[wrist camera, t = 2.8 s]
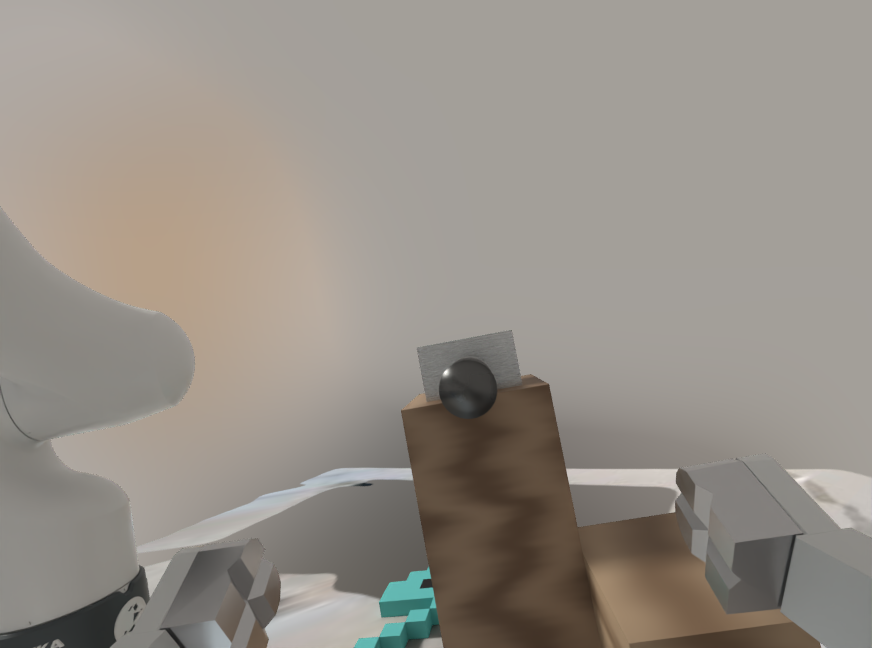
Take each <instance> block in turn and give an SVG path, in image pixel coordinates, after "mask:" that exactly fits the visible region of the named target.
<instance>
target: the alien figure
mask: <svg viewBox="0 0 872 648" xmlns="http://www.w3.org/2000/svg"><path fill="white" fill-rule="evenodd" d="M379 605H380V611H381V617H394V616H407V615H408V617H407V619H406V622H403V623H390V624H385V626H384V628H383V630H382V632H381V634H380V636H379V637H373V638H359V639H358V641H357V643H356V645H355V647H354V648H405V647H406V644H407V642H408V639H423V638H429V635H430V631H431V628H432V625H439V619H438V614H437V608H436V603H435V597H434V592H433V586H432V580H431V575H430V569H429V567H428V569H427V570H426V571H416V572H411V573H410V575H409V577H408V579H407V581H400V582H390V583H389V585H388V587H387V589H386V590H385V592H384V594H383V596H382V598H381V599H380V601H379Z"/></svg>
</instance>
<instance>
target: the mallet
mask: <svg viewBox="0 0 872 648" xmlns="http://www.w3.org/2000/svg"><path fill="white" fill-rule="evenodd" d="M417 352H418V357H419V363H420V368H421V374H422V379H423V385H424V390H425V396H426V401H427V402H429V401H435V400H441V402H442V404H443V405H444V407H445V408H446V409H447V410H448V411H449V412H450V413H451V414H453V415H455V416H457V417H459V418H463V419H474V418H478V417H480V416H482V415H484V414H485V413H487V412H488V411H489V410H490V409H491V407H492V406H493V404H494V403H495V400H496V397H497V389H502V388H508V387H514V386H519V385H522V380H521V375H520V370H519V365H518V359H517V355H516V349H515V344H514V339H513V334H512V330H509V331H504V332H498V333H493V334H487V335H482V336H477V337H471V338H466V339H461V340H455V341H450V342H445V343H440V344H434V345H429V346H423V347H418V348H417Z"/></svg>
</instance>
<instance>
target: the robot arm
mask: <svg viewBox="0 0 872 648" xmlns="http://www.w3.org/2000/svg"><path fill="white" fill-rule="evenodd" d="M194 370H195V357H194V352H193V348H192V345H191V343H190V340H189V338H188V337H187V336H186V334H185V332H184V331H183V330H182V328H181V327H180V326H179V325H178V324H177V323H176V322H175V321H174V320H172V319H171V318H169V317H168V316H167V315H165V314H163V313H161V312H157V311H152V310H147V309H142V308H138V307H135V306H131V305H128V304H124V303H122V302H119V301H116V300H114V299H111V298H109V297H107V296H105V295H102V294H100V293H98V292H96V291H94V290H92V289H90V288H88V287H86V286H85V285H83V284H81V283H79V282H77V281H75V280H74V279H72V278H71V277H69V276H67V275H66V274H64V273H63V272H61V271H60V270H58V269H57V268H55V267H54V266H53V265H52V264H51V263H49V262H48V261H47V260H46V259H45V258H43V257H42V256H41V255H40V254H39V253H38V252H37V251H36V250H35V249H34V247H33V246H32V245H31V244H30V243H29V241H28V240H27V239H26V238H25V237H24V236H23V234H22V233H21V232H20V231H19V229H18V228H17V227H16V226H15V225H14V223H13V222H12V221H11V220H10V218H9V217H8V216H7V214H6V213H5V212H4V211H3V209H2V208H1V207H0V648H266V647H267V643H268V640H269V639H268V636H267V633H266V631H265V627H266V626H267V625H268V624H269V622H270V621H271V620H272V619H273V618H274V617H275V615H276V612H277V609H278V605H279V601H280V588H281V582H280V578H279V573H278V571H277V569H276V567H275V565H274V564H273V563H271V562H270V561H268V560H266V559H264V558H262V557H263V554H264V552H265V548H264V546H263V545H262V543H261V542H260V540H259V539H258V538H254V539H245V540H237V541H229V542H222V543H214V544H207V545H202V546H195V547H188V548H182V549H181V550H180V551H179V552H177V553H176V554H175V555H174V556H173V558H172V560H171V562H170V564H169V565H168V567H167V569H166V571H165V573H164V574H163V576H162V578H161V580H160V582H159V583H158V585H157V587H156V589H155V591H154V592H153V594H152V596H151V598H150V597H149V590H148V582H147V578H146V574H145V569H144V568H143V567H142V566H140V565H139V563H138V556H137V549H136V542H135V535H134V528H133V521H132V514H131V507H130V500H129V498H128V496H127V494H126V493H125V491H124V490H123V489H122V488H121V487H120V486H119V485H118V484H116V483H115V482H114V481H112V480H110V479H108V478H105V477H102V476H99V475H94V474H89V473H83V472H78V471H75V470H73V469H71V468H70V467H68V466H67V465H65V464H64V463H63V462H62V461H61V460H60V459H59V458H58V456H57V455H56V453H55V452H54V449H53V447H52V444H51V440H50V439H54V438H59V437H64V436H69V435H74V434H80V433H85V432H90V431H95V430H100V429H106V428H111V427H115V426H121V425H125V424H128V423H131V422H134V421H137V420H140V419H142V418H145V417H148V416H151V415H153V414H156V413H158V412H161V411H164V410H166V409H168V408H171V407H174V406H176V405H177V404H178V403H179V402H180V401H181V400H182V399H183V397H184V396H185V394H186V393H187V391H188V389H189V387H190V385H191V382H192V379H193V375H194ZM676 484H677V486H678V487H679V489H680V491H681V492H682V493H681V494H680V496H679V497H678V498H677V499H676V500H675V513H676V518H677V522H678V526H679V529H680V531H681V534H682V536H683V539H684V541H685V543H686V544H687V546H688V548H689V550H690V552H691V553H692V554H693V555H695V556H696V557H698V558H699V559H701V560H702V561H704V562H705V563H706V565H705V578H706V580H707V582H708V583H709V585H710V587H711V589H712V590H713V592H714V594H715V596H716V597H717V599H718V601H719V602H720V604H721V606H722V608H723V609H724V611H725V613H726V615H727V614H737V613H746V612H755V611H765V610H774V609H781V610H780V612H781V613H782V614H784V615H785V616H786V617H788V618H789V619H790V620H792V621H793V622H794V623H795V624H797V625H798V626H799V627H801V628H802V629H803V630H805V631H806V632H807V633H808V634H810V635H811V636H812V637H814V638H815V639H816V640H818V641H819V642H820V643H821V644H823V645H824V646H825V647H827V648H872V538H871V537H869V536H867V535H865V534H863V533H861V532H859V531H857V530H855V529H853V528H845V529H841V528H840V527H839V526H838V525H837V524H836V523H835V522H834V521H833V520H832V519H831V518H830V517H829V516H828V515H827V514H826V512H825V511H824V510H823V509H822V508H821V507H820V506H819V505H818V504H817V503H816V502H815V501H814V500H813V499H812V498H811V497H810V496H809V495H808V494H807V493H806V492H805V490H804V489H803V488H802V487H801V486H800V485H799V484H798V483H797V482H796V481H795V480H794V479H793V478H792V477H791V476H790V475H789V474H788V473H787V472H786V471H785V470H784V468H783V467H782V466H781V465H780V464H779V463H778V462H777V461H776V460H775V459H774V458H773V457H771V456H770V455H768V454H760V455H753V456H747V457H741V458H736V459H728V460H722V461H716V462H710V463H705V464H699V465H693V466H687V467H683V468H679V469H678V471H677V473H676Z"/></svg>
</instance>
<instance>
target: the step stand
mask: <svg viewBox="0 0 872 648" xmlns="http://www.w3.org/2000/svg"><path fill="white" fill-rule="evenodd" d="M521 380H522V385H519V386H514V387H508V388H502V389H497V397H496V400H495V403H494V404H493V406H492V407H491V409H490V410H489V411H488V412H487V413H485V414H484V415H482V416H480V417H478V418H474V419H463V418H459V417H457V416H455V415H453V414H451V413H450V412H449V411H448V410H447V409H446V408H445V407H444V405H443V404H442V402H441V400H435V401H429V402H427V401H426V396H425V393H424V394H419V395H418V396H417V397H416V398H414V400H412V401H411V402H410V403H409V404H408V405H407V406H406V407H404V408H403V409H402V410H401V413H402V418H403V425H404V430H405V436H406V441H407V447H408V452H409V458H410V463H411V469H412V475H413V480H414V486H415V491H416V497H417V502H418V508H419V514H420V519H421V525H422V530H423V536H424V542H425V547H426V552H427V558H428V564H429V569H430V575H431V580H432V586H433V592H434V597H435V603H436V608H437V614H438V619H439V625H440V631H441V636H442V642H443V647H444V648H821V646H820V642H819V641H818V640H816V639H815V638H814V637H812V636H811V635H810V634H808V633H807V632H806V631H805V630H803V629H802V628H801V627H799V626H798V625H797V624H795V623H794V622H793V621H792V620H790V619H789V618H788V617H786V616H785V615H784V614H782V613H781V612H780V610H781V609H774V610H765V611H755V612H746V613H737V614H727V615H726V613H725V611H724V609H723V608H722V606H721V604H720V602H719V601H718V599H717V597H716V596H715V594H714V592H713V590H712V589H711V587H710V585H709V583H708V582H707V580H706V578H705V565H706V563H705V562H704V561H702V560H701V559H699V558H698V557H696V556H695V555H693V554H692V553H691V552H690V550H689V548H688V546H687V544H686V543H685V541H684V539H683V536H682V534H681V531H680V529H679V526H678V522H677V518H676V513H668V514H662V515H656V516H649V517H642V518H636V519H629V520H622V521H616V522H610V523H603V524H596V525H590V526H583V527H577V522H576V517H575V513H574V507H573V502H572V498H571V492H570V487H569V482H568V477H567V472H566V467H565V462H564V457H563V452H562V447H561V442H560V437H559V432H558V427H557V422H556V417H555V412H554V407H553V402H552V397H551V392H550V387H549V384H548V383H546V382H544V381H542V380H540V379H538V378H537V377H535V376H533V375H531V374H530V375H525V376H521Z"/></svg>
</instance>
